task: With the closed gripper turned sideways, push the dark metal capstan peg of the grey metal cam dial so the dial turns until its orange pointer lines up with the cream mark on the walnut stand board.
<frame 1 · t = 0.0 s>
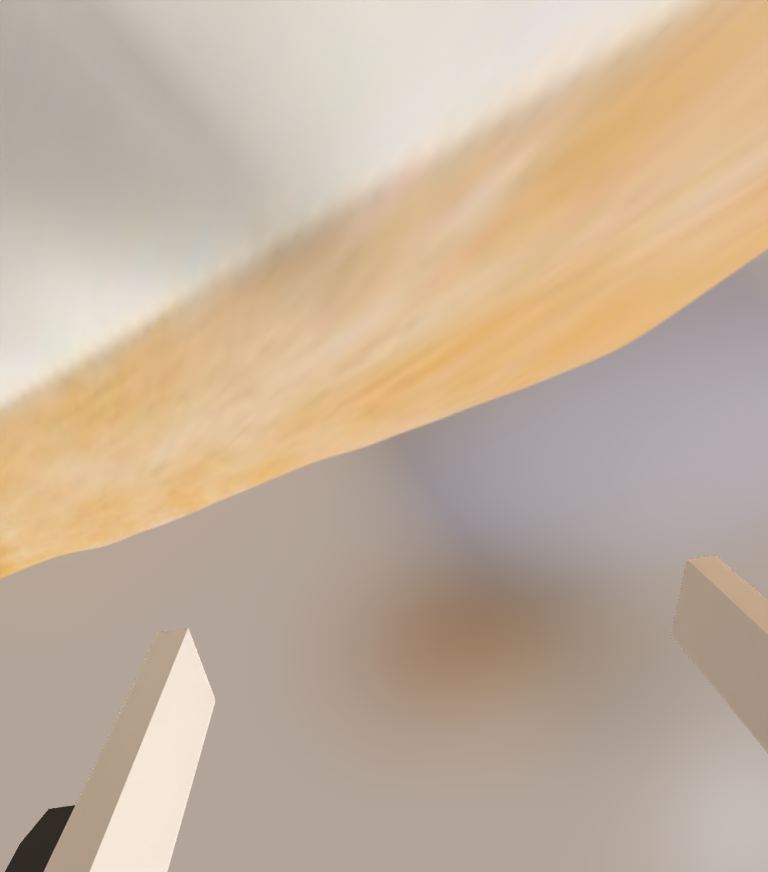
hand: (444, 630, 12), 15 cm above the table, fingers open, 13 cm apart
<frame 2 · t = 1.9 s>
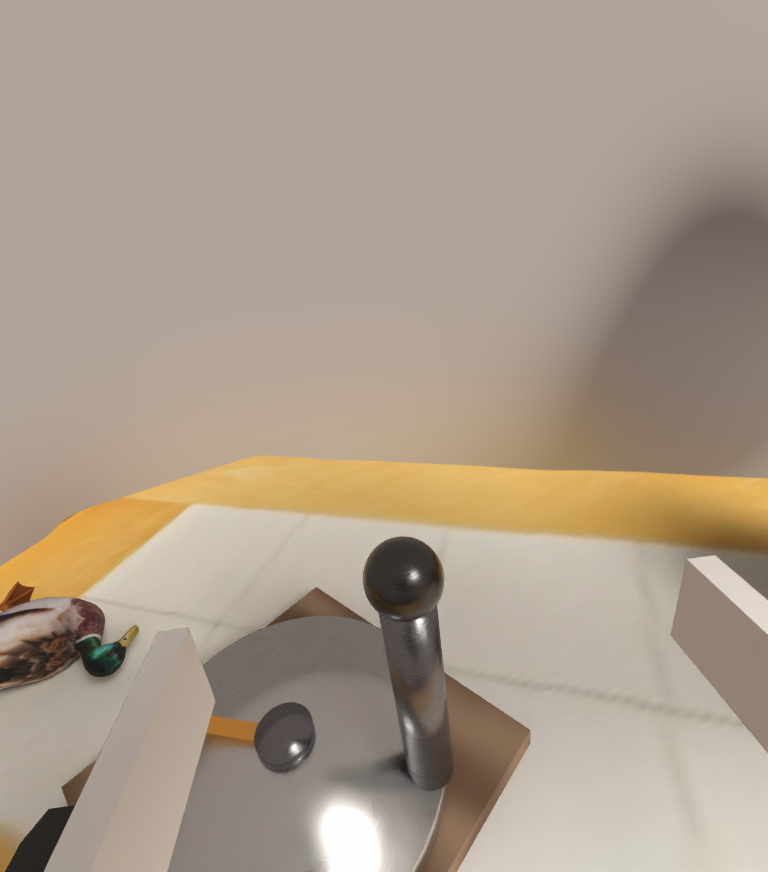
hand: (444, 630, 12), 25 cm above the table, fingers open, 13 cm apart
cam dial: (266, 664, 28), point 11 cm above the table, hinge at -35.0°
decorative duck model: (45, 688, 43), on the table
walnut stand board: (298, 771, 33), on the table
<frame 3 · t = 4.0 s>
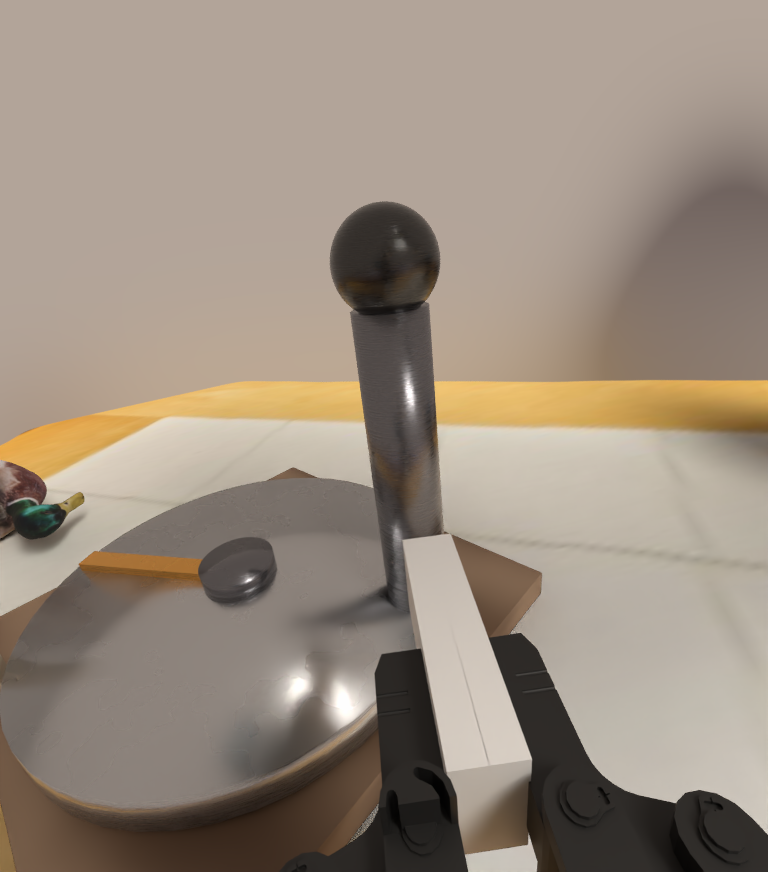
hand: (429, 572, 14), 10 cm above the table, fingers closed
cam dial: (212, 450, 22), point 11 cm above the table, hinge at -35.0°
walnut stand board: (255, 623, 27), on the table
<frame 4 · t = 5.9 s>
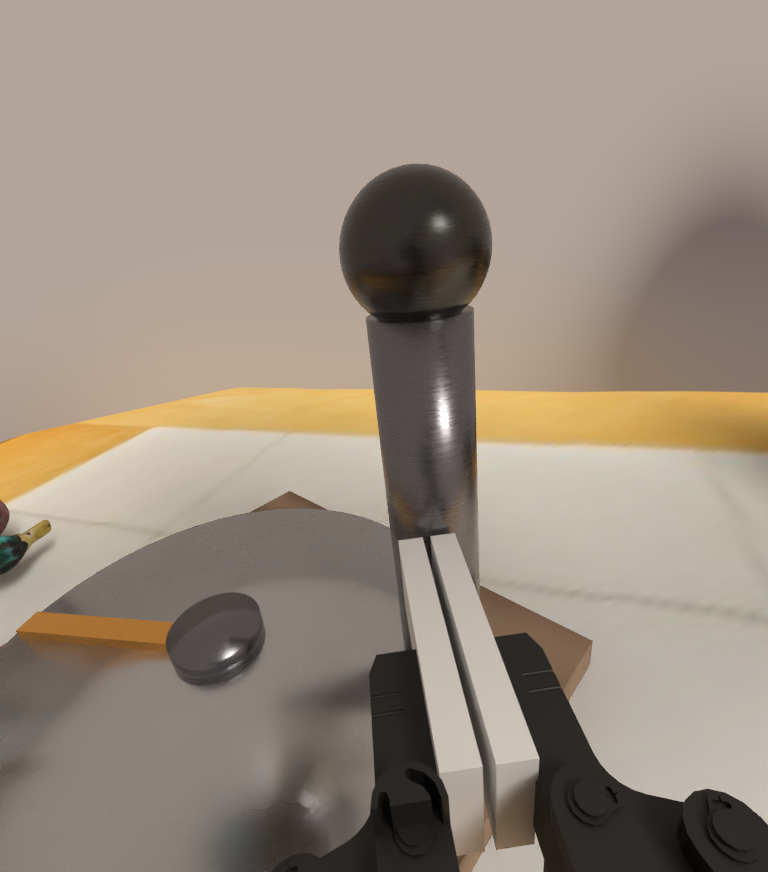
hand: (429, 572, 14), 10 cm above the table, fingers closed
cam dial: (180, 495, 17), point 11 cm above the table, hinge at -32.2°, touching gripper
walnut stand board: (239, 698, 22), on the table
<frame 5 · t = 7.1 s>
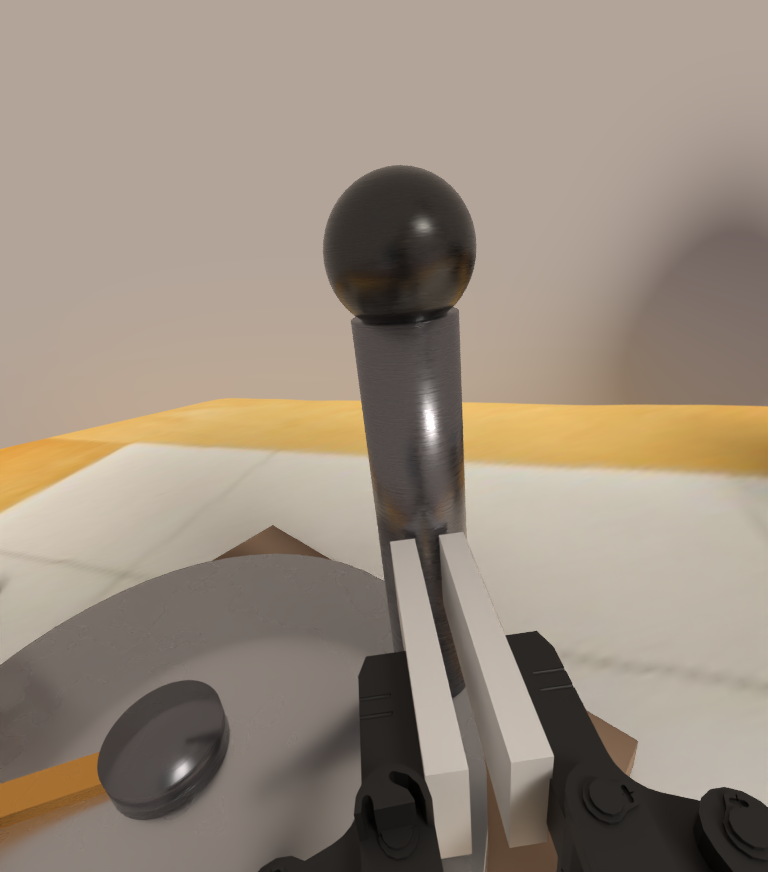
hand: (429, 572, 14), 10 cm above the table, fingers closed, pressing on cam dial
cam dial: (110, 577, 13), point 12 cm above the table, hinge at -6.2°, touching gripper
walnut stand board: (199, 811, 18), on the table
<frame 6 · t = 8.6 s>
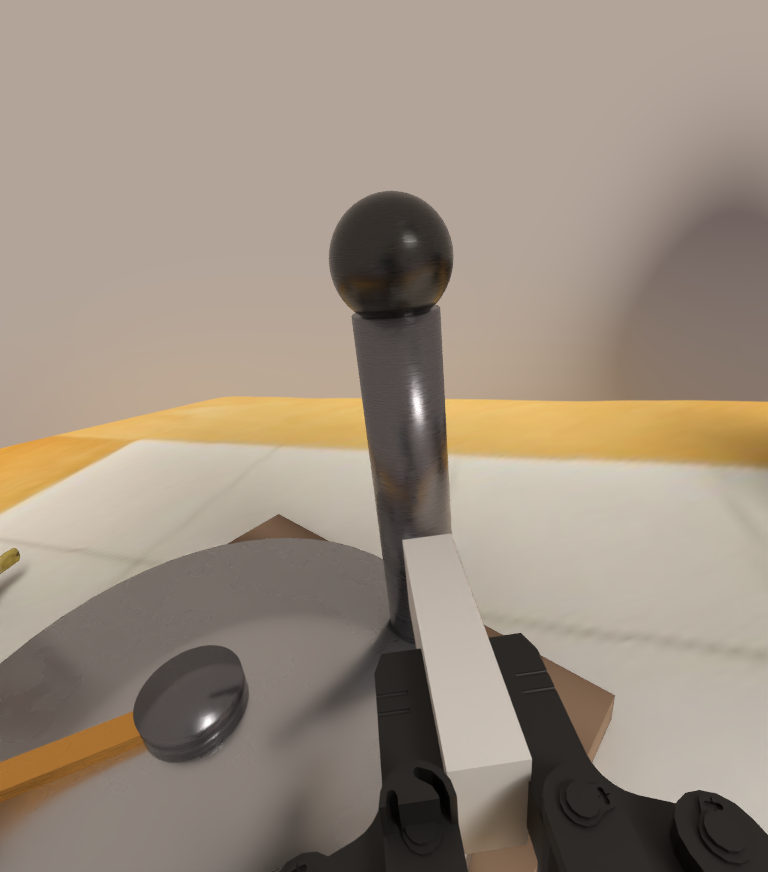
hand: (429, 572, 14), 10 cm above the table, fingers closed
cam dial: (149, 543, 15), point 11 cm above the table, hinge at -1.1°
walnut stand board: (220, 764, 19), on the table
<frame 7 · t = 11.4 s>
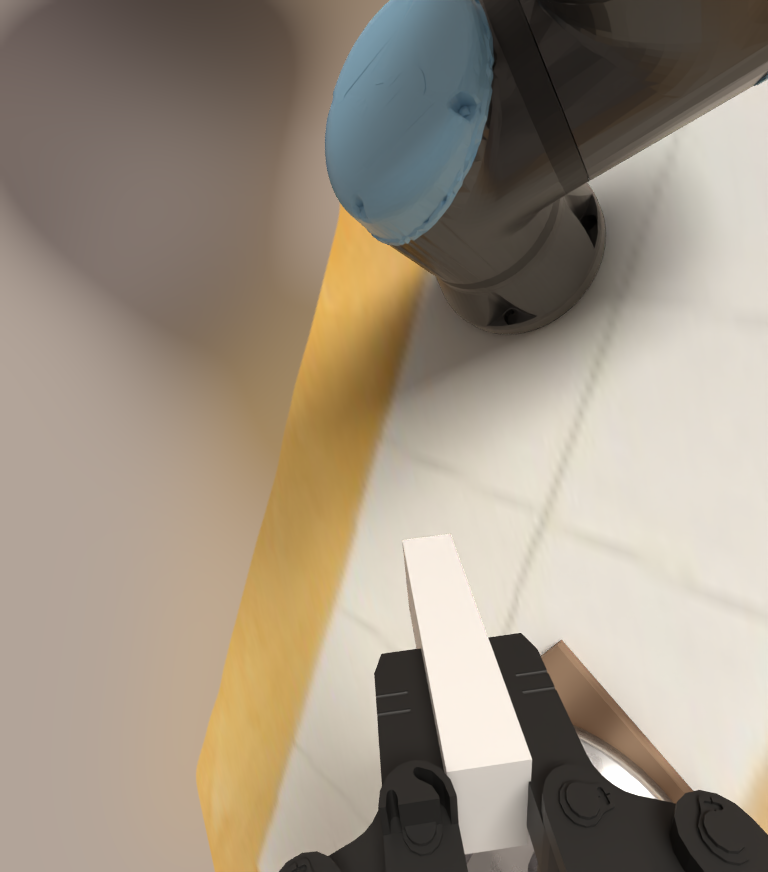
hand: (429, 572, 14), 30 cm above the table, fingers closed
walnut stand board: (567, 840, 39), on the table
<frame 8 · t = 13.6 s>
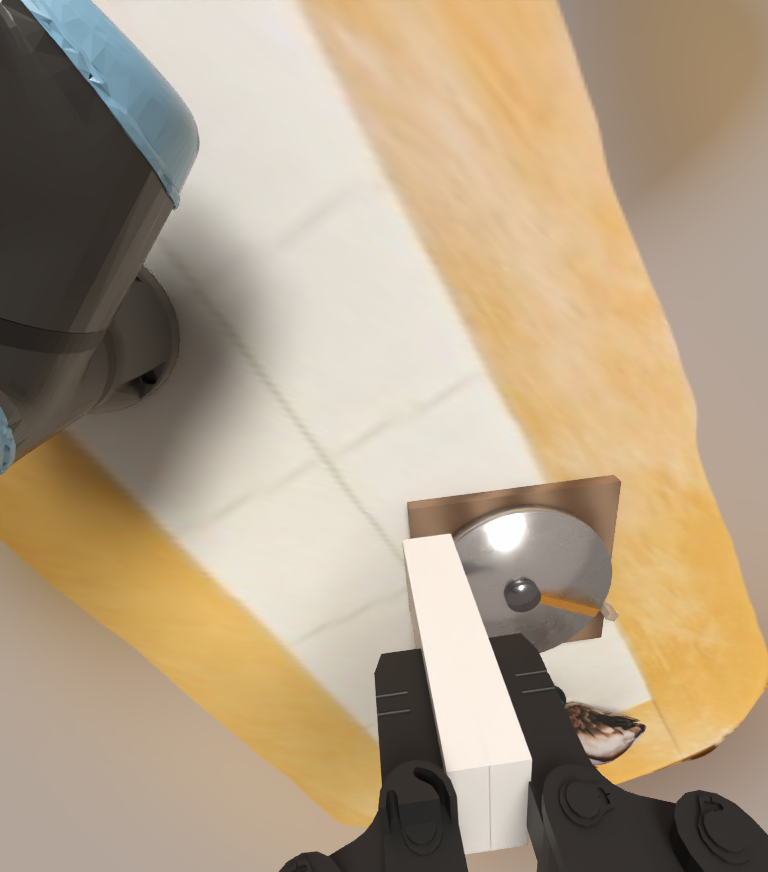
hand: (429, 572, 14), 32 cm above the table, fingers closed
cam dial: (543, 646, 46), point 11 cm above the table, hinge at -1.1°
decorative duck model: (576, 696, 67), on the table
walnut stand board: (510, 571, 56), on the table
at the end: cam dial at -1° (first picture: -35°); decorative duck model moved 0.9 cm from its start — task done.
